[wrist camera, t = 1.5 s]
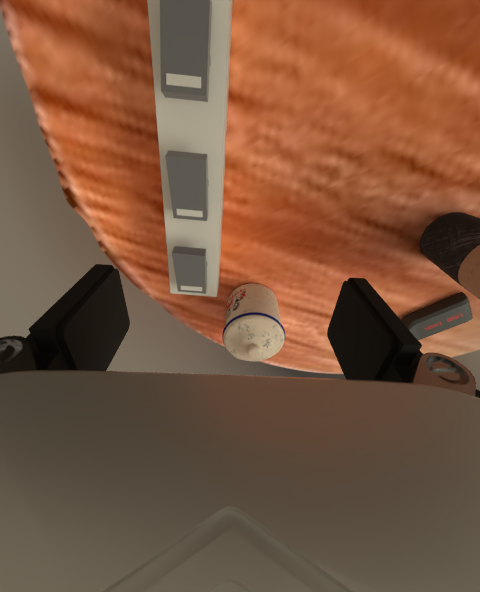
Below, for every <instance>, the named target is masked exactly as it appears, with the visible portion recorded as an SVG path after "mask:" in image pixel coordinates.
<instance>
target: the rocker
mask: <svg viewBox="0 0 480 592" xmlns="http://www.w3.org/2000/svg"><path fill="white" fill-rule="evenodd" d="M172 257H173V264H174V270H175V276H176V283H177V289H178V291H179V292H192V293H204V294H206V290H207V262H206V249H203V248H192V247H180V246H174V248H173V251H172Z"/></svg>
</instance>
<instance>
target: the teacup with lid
mask: <svg viewBox="0 0 480 592" xmlns="http://www.w3.org/2000/svg"><path fill="white" fill-rule="evenodd" d="M284 340H285V331H284V328H283V326H282V324H281V319H280V313H279V308H278V303H277V298H276V296H275V294H274V293H273V292H272V291H271V290H270V289H269V288H267V287H266V286H264V285H261V284H255V283H251V284H245V285H242V286H239V287H238V288H236V289H235V290H234V291H233V292H232V293H231V294H230V296H229V298H228V301H227V311H226V322H225V328H224V330H223V342H224V345H225V347H226V348H227V350H228V351H229V352H230V353H231V354H232V355H234V356H235V357H236V358H237V359H242V360H246V361H261V360H265V359H268V358H270V357H272V356H273V355H275V354H276V353H277V352H278V351H279V350H280V349H281V347H282V346H283V343H284Z"/></svg>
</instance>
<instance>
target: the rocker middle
mask: <svg viewBox="0 0 480 592" xmlns="http://www.w3.org/2000/svg"><path fill="white" fill-rule="evenodd" d="M165 157H166V165H167V173H168V180H169V188H170V195H171V203H172V211H173V218H178V219H189V220H200V221H207V219H208V158H207V154H200V153H190V152H180V151H170V150H168V152H167V154H166V155H165Z"/></svg>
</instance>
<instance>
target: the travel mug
mask: <svg viewBox="0 0 480 592" xmlns="http://www.w3.org/2000/svg"><path fill="white" fill-rule="evenodd" d="M420 248H421V251H422V253H423V254H424V255H425V256H426V257H427V258H428V259H429V260H430V261H432V262H433V263H434V264H435V265H436V266H438V267H439V268H440V269H441V270H443V271H444V272H445V273H446V274H448V275H449V276H450V277H451V278H452V279H454V280H455V281H456V282H457V283H459V284H460V285H461V286H462V287H464V288H465V289H466V290H468V291H469V292H470V293H472V294H473V295H474V296H476V297H477V298H479V299H480V218H477V217H474V216H471V215H468V214H465V213H450V214H447V215H444V216H442V217H440V218H438V219H437V220H435V221H434V222H433V223H432V224H431V225H430V226H429V227H428V228H427V229H426V230H425V232H424V233H423V235H422V238H421V241H420Z"/></svg>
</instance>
